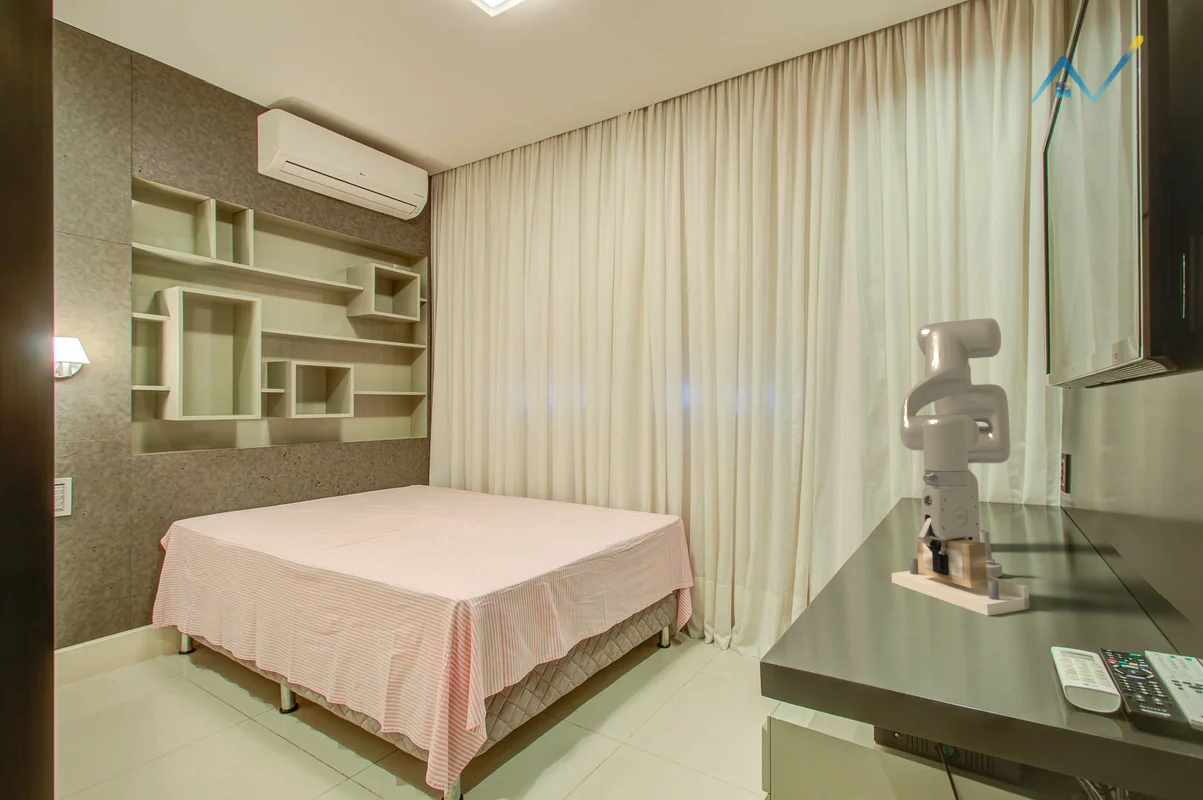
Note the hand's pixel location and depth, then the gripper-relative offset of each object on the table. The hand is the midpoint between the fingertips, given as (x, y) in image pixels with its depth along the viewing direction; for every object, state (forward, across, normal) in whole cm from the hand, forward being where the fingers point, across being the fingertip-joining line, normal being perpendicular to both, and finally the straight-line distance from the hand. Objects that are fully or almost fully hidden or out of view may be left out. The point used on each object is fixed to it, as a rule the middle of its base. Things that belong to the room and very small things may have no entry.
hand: (950, 571), depth 115 cm
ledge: (+5, +1, 0) cm, 5 cm away
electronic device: (+5, +17, +12) cm, 22 cm away
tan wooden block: (+1, 0, 0) cm, 1 cm away
